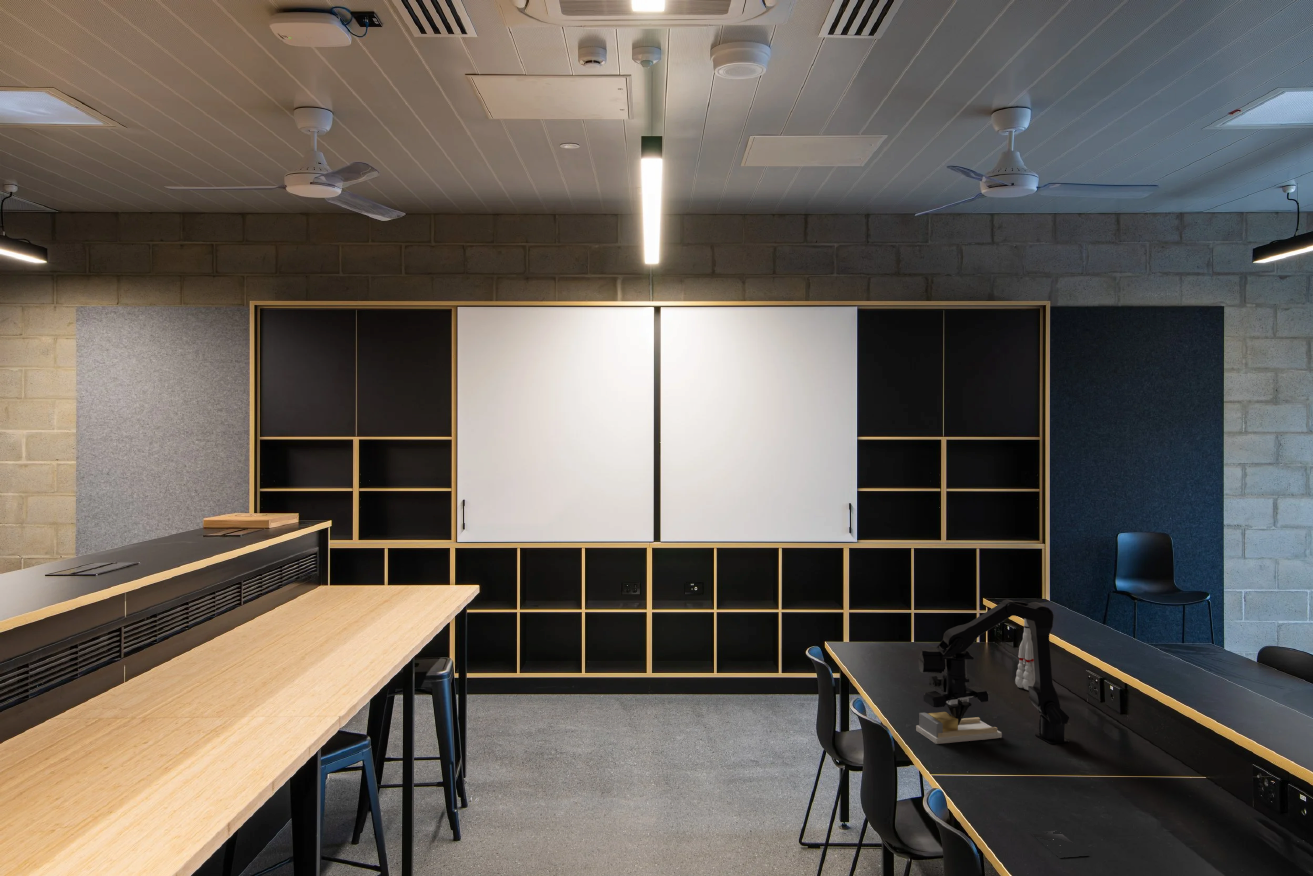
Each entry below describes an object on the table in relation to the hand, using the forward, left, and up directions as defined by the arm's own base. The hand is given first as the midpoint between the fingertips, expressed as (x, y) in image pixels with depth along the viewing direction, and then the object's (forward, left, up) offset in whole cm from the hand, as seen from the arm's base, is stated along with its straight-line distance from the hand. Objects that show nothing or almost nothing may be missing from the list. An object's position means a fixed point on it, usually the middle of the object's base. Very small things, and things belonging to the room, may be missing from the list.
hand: (956, 725), depth 225 cm
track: (0, -1, -3) cm, 3 cm away
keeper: (0, +5, -1) cm, 5 cm away
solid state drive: (-58, +16, -3) cm, 61 cm away
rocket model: (+31, -51, -3) cm, 59 cm away
